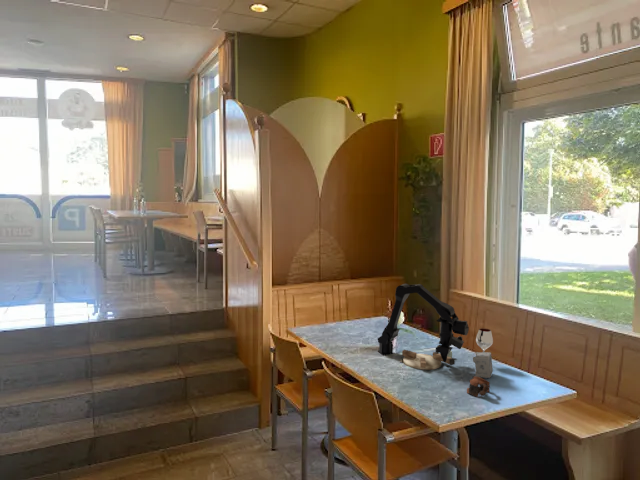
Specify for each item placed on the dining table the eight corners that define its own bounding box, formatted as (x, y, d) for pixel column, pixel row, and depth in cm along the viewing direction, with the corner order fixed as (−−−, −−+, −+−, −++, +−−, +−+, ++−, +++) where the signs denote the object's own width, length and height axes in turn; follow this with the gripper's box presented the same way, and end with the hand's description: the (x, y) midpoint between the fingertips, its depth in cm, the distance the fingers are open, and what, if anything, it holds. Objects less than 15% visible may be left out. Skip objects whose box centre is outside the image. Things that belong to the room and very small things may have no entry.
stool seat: (416, 372, 231) (416, 363, 231) (395, 358, 250) (396, 350, 250) (449, 367, 238) (449, 359, 237) (427, 354, 257) (427, 347, 256)
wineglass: (491, 362, 246) (493, 328, 244) (491, 368, 238) (493, 333, 236) (474, 360, 249) (476, 326, 247) (474, 365, 241) (476, 331, 239)
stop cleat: (443, 359, 250) (444, 352, 250) (441, 357, 252) (441, 351, 252) (451, 358, 252) (452, 351, 251) (449, 356, 254) (449, 350, 253)
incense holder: (475, 370, 235) (476, 349, 234) (492, 373, 231) (494, 352, 230) (471, 377, 226) (472, 355, 225) (490, 380, 223) (491, 358, 222)
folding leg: (432, 357, 247) (432, 352, 247) (435, 356, 248) (435, 351, 248) (451, 365, 237) (451, 359, 236) (454, 364, 238) (454, 358, 238)
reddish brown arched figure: (461, 391, 211) (467, 373, 213) (479, 399, 213) (485, 382, 215) (475, 395, 200) (482, 376, 202) (494, 404, 201) (500, 385, 203)
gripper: (459, 338, 225) (458, 370, 226) (465, 329, 242) (464, 359, 243) (436, 335, 229) (434, 366, 231) (443, 326, 246) (442, 355, 248)
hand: (444, 361), depth 238 cm, fingers closed
